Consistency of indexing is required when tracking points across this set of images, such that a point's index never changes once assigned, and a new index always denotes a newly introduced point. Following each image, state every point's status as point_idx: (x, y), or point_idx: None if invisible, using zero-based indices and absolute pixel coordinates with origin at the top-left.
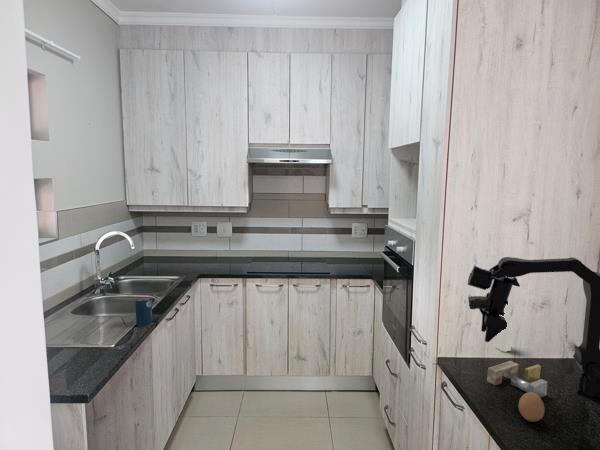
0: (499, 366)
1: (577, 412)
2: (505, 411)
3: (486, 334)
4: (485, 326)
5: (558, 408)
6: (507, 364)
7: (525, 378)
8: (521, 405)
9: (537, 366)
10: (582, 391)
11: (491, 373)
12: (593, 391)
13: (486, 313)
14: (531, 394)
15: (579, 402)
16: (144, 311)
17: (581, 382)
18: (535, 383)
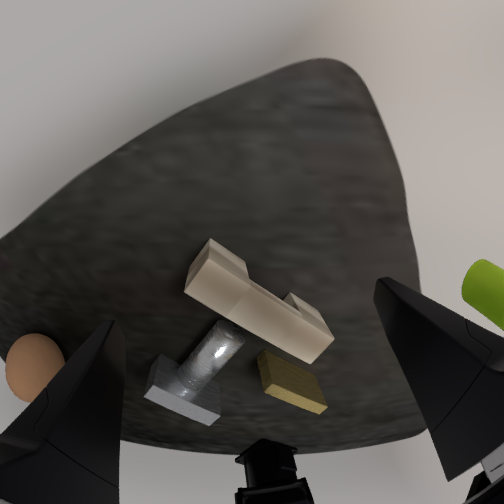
0: (252, 304)
1: (160, 431)
2: (45, 294)
3: (58, 374)
4: (400, 334)
5: (151, 407)
6: (290, 331)
7: (263, 363)
8: (11, 347)
9: (310, 408)
10: (265, 448)
11: (197, 267)
12: (247, 468)
13: (501, 424)
14: (12, 389)
15: (214, 439)
16: None
17: (273, 462)
18: (174, 402)
